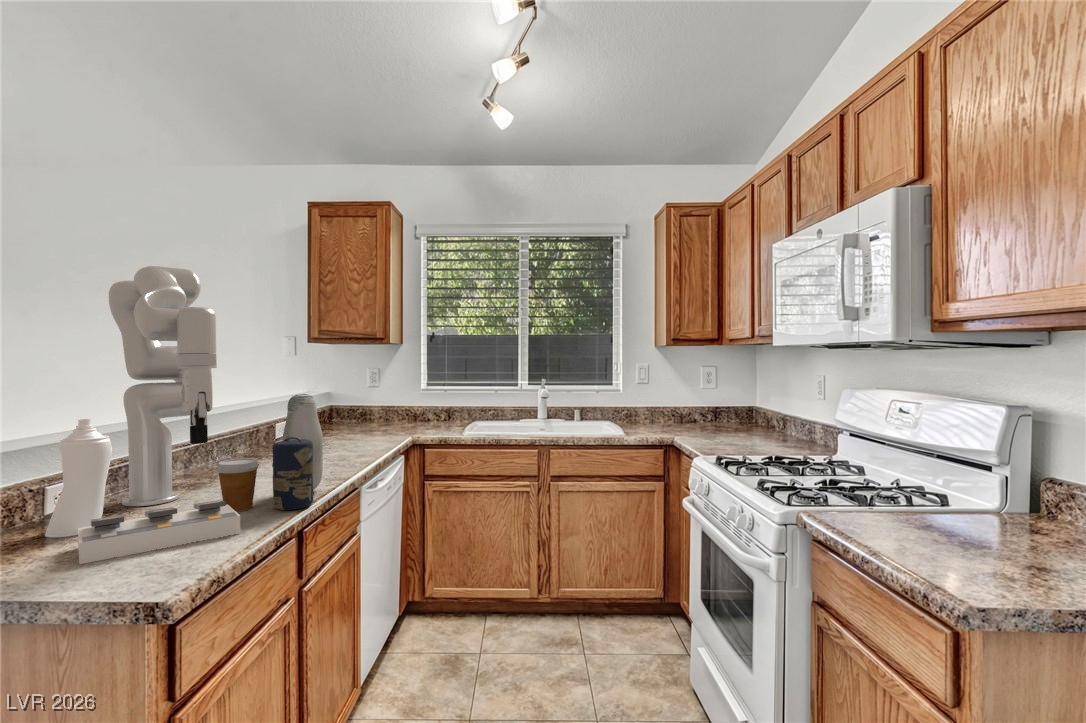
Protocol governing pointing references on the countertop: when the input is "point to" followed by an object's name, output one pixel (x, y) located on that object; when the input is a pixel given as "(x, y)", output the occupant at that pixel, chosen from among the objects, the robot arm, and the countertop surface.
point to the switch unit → (155, 533)
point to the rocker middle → (160, 512)
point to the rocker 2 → (209, 504)
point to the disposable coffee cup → (238, 482)
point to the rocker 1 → (107, 520)
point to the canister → (292, 474)
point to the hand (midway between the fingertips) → (199, 443)
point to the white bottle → (81, 480)
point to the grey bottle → (306, 429)
